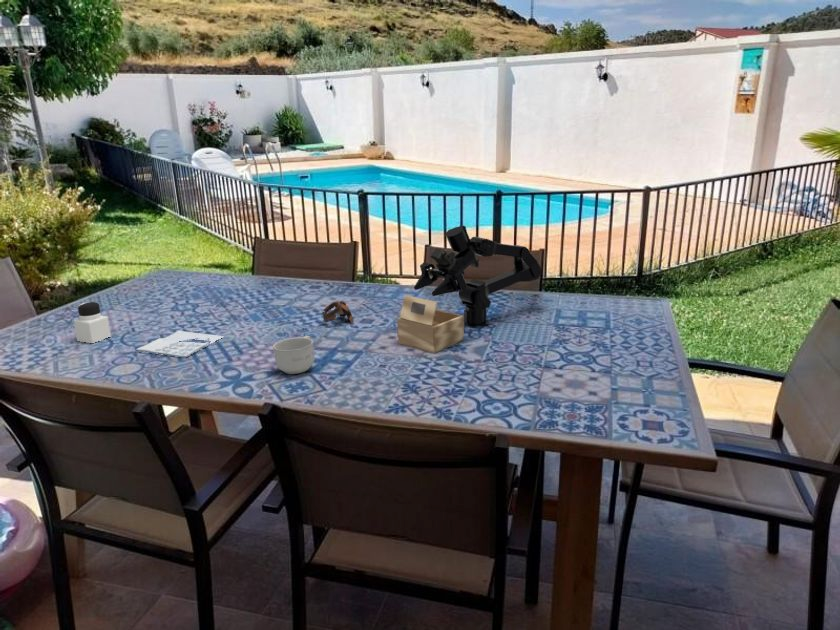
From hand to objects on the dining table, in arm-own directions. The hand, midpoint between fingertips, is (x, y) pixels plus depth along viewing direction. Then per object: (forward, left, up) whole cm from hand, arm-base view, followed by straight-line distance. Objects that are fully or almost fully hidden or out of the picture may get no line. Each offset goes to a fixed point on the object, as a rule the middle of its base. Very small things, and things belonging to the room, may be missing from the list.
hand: (423, 291), depth 194 cm
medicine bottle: (+99, -37, -15) cm, 107 cm away
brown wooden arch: (+21, -26, -15) cm, 37 cm away
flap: (+4, +8, -3) cm, 10 cm away
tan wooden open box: (0, +5, -15) cm, 16 cm away
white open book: (+72, -21, -16) cm, 76 cm away
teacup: (+41, +12, -15) cm, 45 cm away
